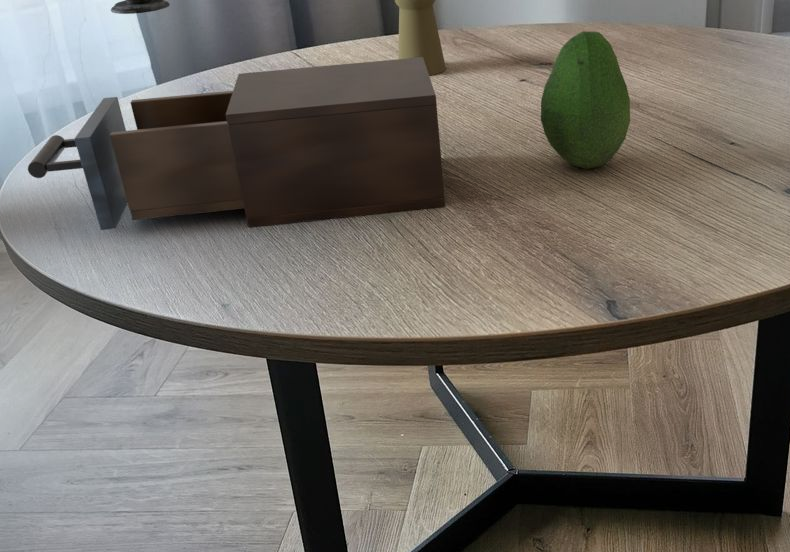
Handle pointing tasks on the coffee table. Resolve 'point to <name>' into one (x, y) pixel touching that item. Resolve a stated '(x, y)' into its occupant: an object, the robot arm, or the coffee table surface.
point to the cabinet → (336, 141)
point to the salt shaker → (138, 6)
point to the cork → (420, 34)
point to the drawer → (153, 158)
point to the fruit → (586, 102)
